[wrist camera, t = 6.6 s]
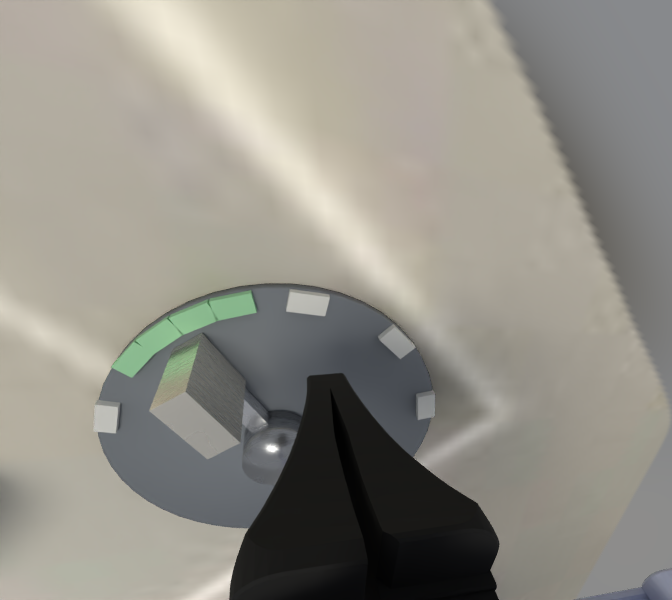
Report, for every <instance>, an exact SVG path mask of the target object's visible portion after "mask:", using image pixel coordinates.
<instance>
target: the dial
mask: <svg viewBox="0 0 672 600" xmlns="http://www.w3.org/2000/svg"><path fill="white" fill-rule="evenodd" d="M201 333H203V334H204V335H205V336H206V338H207V339H208V340H209V341H210V342H211V343H212V344H213V345H214V346H215V347H216V348H217V349H218V351H219V352H220V353H221V354H222V355H223V356H224V357H225V358H226V359H227V360H228V361H229V363H230V364H231V365H232V366H233V367H234V368H235V369H236V370H237V371H238V372H239V373H240V374H241V376H242V377H243V378H244V379H245V380H246V385H245V388H246V389H247V390H248V391H249V392H250V393H251V394H252V396H253V397H254V398H255V399H256V400H257V401H258V402H259V403H260V404H261V405H262V406H263V407H264V408H265V409H266V411H267V412H271V411H289V412H293V413H296V414H298V415H300V416H301V417H302V415H303V411H304V406H305V402H306V395H307V378H308V377H309V376H310V375H322V374H334V373H343V374H344V375H345V376H346V378H347V380H348V381H349V383H350V385H351V386H352V388H353V389H354V391H355V392H356V394H357V395H358V397H359V398H360V400H361V401H362V403H363V404H364V405H365V406H366V408H367V409H368V410H369V412H370V413H371V414H372V416H373V417H374V418H375V419H376V420H377V422H378V423H379V424H380V425H381V426H382V427H383V428H384V430H385V431H386V432H387V433H388V434H389V435H390V436H391V437H392V438H393V439H394V440H395V441H396V442H397V443H398V444H399V445H400V446H401V447H402V448H403V449H404V450H405V451H406V452H407V453H408V454H409V455H411V456H412V457H413V456H414V455H415V453H416V451H417V450H418V448H419V447H420V445H421V443H422V441H423V439H424V437H425V434H426V432H427V430H428V426H429V423H430V419H431V417H435V393H434V391H433V390H432V385H431V381H430V377H429V372H428V370H427V368H426V366H425V363H424V361H423V359H422V357H421V355H420V353H419V352H418V350H417V348H416V347H415V345H414V344H413V343H412V341H411V340H410V338H409V337H408V336H407V335H406V334H405V332H404V331H403V330H402V329H401V328H400V327H399V326H398V325H397V324H396V323H395V322H393V321H392V320H391V319H389V318H388V317H387V316H385V315H384V314H383V313H382V312H380V311H378V310H377V309H375V308H373V307H371V306H369V305H368V304H366V303H364V302H362V301H360V300H357V299H355V298H352V297H350V296H347V295H345V294H342V293H339V292H335V291H331V290H327V289H323V288H319V287H313V286H305V285H297V284H258V285H249V286H240V287H235V288H231V289H227V290H222V291H218V292H214V293H211V294H208V295H205V296H202V297H199V298H197V299H194V300H191V301H188V302H186V303H185V304H183V305H181V306H179V307H177V308H175V309H173V310H171V311H169V312H167V313H165V314H164V315H162V316H161V317H159V318H158V319H157V320H155V321H154V322H152V323H151V324H149V325H148V326H147V327H145V328H144V329H143V330H142V331H141V332H140V333H139V334H138V335H137V336H136V337H135V338H134V339H133V340H132V341H131V342H130V343H129V344H128V345H127V347H126V348H125V349H124V350H123V352H122V353H121V354H120V356H119V357H118V358H117V360H116V361H115V362H114V363H113V365H112V367H111V368H112V369H111V371H110V373H109V375H108V376H107V378H106V380H105V382H104V384H103V387H102V391H101V394H100V397H99V400H97V402H96V403H95V411H94V430H93V431H95V432H98V436H99V439H100V443H101V446H102V449H103V452H104V454H105V456H106V457H107V459H108V461H109V463H110V465H111V467H112V468H113V469H114V470H115V472H116V473H117V474H118V476H119V477H120V478H121V479H122V480H123V481H124V482H125V483H126V484H127V485H128V486H129V487H130V488H131V489H132V490H133V491H135V492H136V493H137V494H139V495H140V496H141V497H143V498H144V499H146V500H147V501H149V502H150V503H152V504H154V505H156V506H158V507H160V508H161V509H163V510H166V511H168V512H170V513H173V514H175V515H178V516H180V517H183V518H187V519H190V520H193V521H196V522H201V523H206V524H211V525H216V526H224V527H232V528H250V526H251V525H252V523H253V522H254V520H255V518H256V517H257V515H258V514H259V512H260V511H261V509H262V507H263V506H264V504H265V502H266V500H267V499H268V497H269V495H270V493H271V492H272V490H273V488H274V486H275V485H266V484H261V483H258V482H255V481H253V480H252V479H250V478H249V477H248V476H247V475H246V474H245V473H244V471H243V468H242V456H243V443H244V433H245V429H246V427H245V426H244V425H243V424H242V431H241V443H239V444H237V445H235V446H233V447H231V448H229V449H227V450H226V451H224V452H222V453H220V454H218V455H216V456H214V457H212V458H210V459H206V458H205V457H204V456H203V455H202V454H200V453H199V452H198V451H197V450H196V449H194V448H193V447H192V446H191V445H189V444H188V443H187V442H186V441H185V440H183V439H182V438H181V437H180V436H179V435H177V434H176V433H175V432H174V431H173V430H171V429H170V428H169V427H168V426H167V425H165V424H164V423H163V422H162V421H161V420H159V419H158V418H157V417H156V416H155V415H153V414H152V413H151V412H150V411H149V410H150V407H151V405H152V402H153V400H154V397H155V394H156V392H157V389H158V386H159V384H160V381H161V379H162V376H163V373H164V371H165V368H166V365H167V363H168V360H169V358H170V355H171V352H172V350H173V349H174V348H175V347H177V346H179V345H181V344H183V343H184V342H186V341H188V340H190V339H192V338H194V337H195V336H197V335H199V334H201Z"/></svg>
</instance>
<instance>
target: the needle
mask: <svg viewBox="0 0 672 600" xmlns="http://www.w3.org/2000/svg"><path fill="white" fill-rule="evenodd" d="M245 385H246V380H245V379H244V378H243V377H242V376H241V374H240V373H239V372H238V371H237V370H236V369H235V368H234V367H233V366H232V365H231V364H230V363H229V361H228V360H227V359H226V358H225V357H224V356H223V355H222V354H221V353H220V352H219V351H218V349H217V348H216V347H215V346H214V345H213V344H212V343H211V342H210V341H209V340H208V339H207V338H206V336H205V335H204V334H203V333H201V334H199V335H197V336H195V337H194V338H192V339H190V340H188V341H186V342H184V343H183V344H181V345H179V346H177V347H175V348H174V349H173V350H172V352H171V355H170V358H169V360H168V363H167V365H166V368H165V371H164V373H163V376H162V379H161V381H160V384H159V386H158V389H157V392H156V394H155V397H154V400H153V402H152V405H151V407H150V410H149V411H150V412H151V413H152V414H153V415H155V416H156V417H157V418H158V419H159V420H161V421H162V422H163V423H164V424H165V425H167V426H168V427H169V428H170V429H171V430H173V431H174V432H175V433H176V434H177V435H179V436H180V437H181V438H182V439H183V440H185V441H186V442H187V443H188V444H189V445H191V446H192V447H193V448H194V449H196V450H197V451H198V452H199V453H200V454H202V455H203V456H204V457H205V458H206V459H210V458H212V457H214V456H216V455H218V454H220V453H222V452H224V451H226V450H227V449H229V448H231V447H233V446H235V445H237V444H239V443H241V431H242V424H243V425H244V426H245V427H246V429H245V433H244V443H243V456H242V468H243V471H244V473H245V474H246V475H247V476H248V477H249V478H250V479H252V480H253V481H255V482H258V483H261V484H266V485H275V484H276V482H277V480H278V478H279V476H280V474H281V472H282V470H283V468H284V466H285V463H286V461H287V459H288V456H289V454H290V452H291V449H292V446H293V444H294V441H295V438H296V435H297V432H298V429H299V426H300V422H301V419H302V417H301V416H300V415H298V414H296V413H293V412H289V411H271V412H267V411H266V409H265V408H264V407H263V406H262V405H261V404H260V403H259V402H258V401H257V400H256V399H255V398H254V397H253V396H252V394H251V393H250V392H249V391H248V390H247V389H246V388H245Z"/></svg>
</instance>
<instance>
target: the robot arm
mask: <svg viewBox="0 0 672 600" xmlns="http://www.w3.org/2000/svg"><path fill="white" fill-rule="evenodd" d="M498 549H499V540H498V537H497V535H496V533H495V531H494V529H493V527H492V526H491V524H490V522H489V521H488V519H487V517H486V516H485V514H484V513H483V511H482V510H481V508H480V507H479V505H478V504H477V503H476V502H474V501H473V500H471V499H469V498H468V497H466V496H465V495H463V494H461V493H460V492H458V491H457V490H455V489H453V488H452V487H450V486H449V485H447V484H446V483H445V482H443V481H442V480H440V479H439V478H438V477H436V476H435V475H434V474H432V473H431V472H430V471H429V470H427V469H426V468H425V467H424V466H423V465H421V464H420V463H419V462H418V461H416V460H415V459H414V458H413V457H412V456H411V455H409V454H408V453H407V452H406V451H405V450H404V449H403V448H402V447H401V446H400V445H399V444H398V443H397V442H396V441H395V440H394V439H393V438H392V437H391V436H390V435H389V434H388V433H387V432H386V431H385V430H384V428H383V427H382V426H381V425H380V424H379V423H378V422H377V420H376V419H375V418H374V417H373V416H372V414H371V413H370V412H369V410H368V409H367V408H366V406H365V405H364V404H363V403H362V401H361V400H360V398H359V397H358V395H357V394H356V392H355V391H354V389H353V388H352V386H351V385H350V383H349V381H348V380H347V378H346V376H345V375H344V374H343V373H334V374H322V375H310V376H309V377H308V378H307V395H306V402H305V406H304V411H303V415H302V419H301V422H300V426H299V429H298V432H297V435H296V438H295V441H294V444H293V446H292V449H291V452H290V454H289V456H288V459H287V461H286V463H285V466H284V468H283V470H282V472H281V474H280V476H279V478H278V480H277V482H276V484H275V486H274V488H273V490H272V492H271V493H270V495H269V497H268V499H267V500H266V502H265V504H264V506H263V507H262V509H261V511H260V512H259V514H258V515H257V517H256V518H255V520H254V522H253V523H252V525H251V526H250V528H249V529H248V531H247V532H246V534H245V537H244V539H243V542H242V545H241V547H240V550H239V553H238V556H237V559H236V562H235V566H234V570H233V574H232V579H231V584H230V598H229V600H499V599H498V597H497V594H496V592H495V590H496V588H497V585H496V582H495V580H494V577H493V575H492V573H491V571H490V569H491V567H492V565H493V562H494V560H495V558H496V555H497V553H498ZM574 600H672V568H670V569H664V570H660V571H657V572H654V573H652V574H651V575H649V576H648V577H647V578H646V579H645V580H644V582H643V584H642V587H639V588H633V589H628V590H623V591H617V592H612V593H607V594H602V595H596V596H590V597H585V598H580V599H574Z"/></svg>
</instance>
